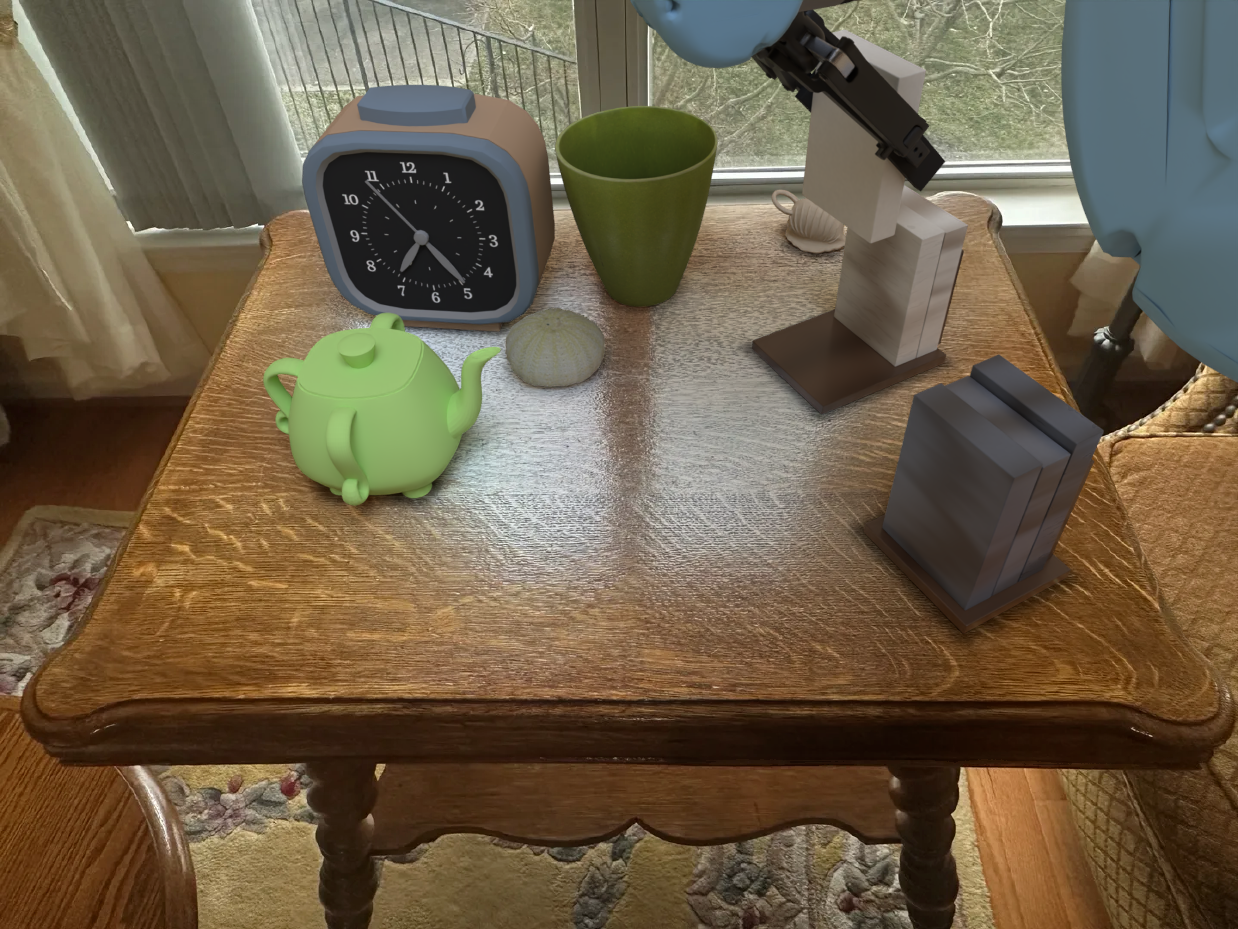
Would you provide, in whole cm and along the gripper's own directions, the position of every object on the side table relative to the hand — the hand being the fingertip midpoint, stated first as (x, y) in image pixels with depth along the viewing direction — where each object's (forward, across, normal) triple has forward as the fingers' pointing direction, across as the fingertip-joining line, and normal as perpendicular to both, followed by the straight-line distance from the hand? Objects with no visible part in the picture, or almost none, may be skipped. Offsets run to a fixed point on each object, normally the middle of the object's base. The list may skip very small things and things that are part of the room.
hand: (887, 148), depth 74 cm
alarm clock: (-6, -27, -36) cm, 45 cm away
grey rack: (+9, +24, -20) cm, 32 cm away
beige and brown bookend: (+14, 0, -15) cm, 20 cm away
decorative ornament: (+20, -18, -9) cm, 29 cm away
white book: (+1, 0, -6) cm, 6 cm away
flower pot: (+6, -20, -23) cm, 31 cm away
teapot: (-15, -8, -44) cm, 47 cm away
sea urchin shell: (-3, -13, -32) cm, 35 cm away
